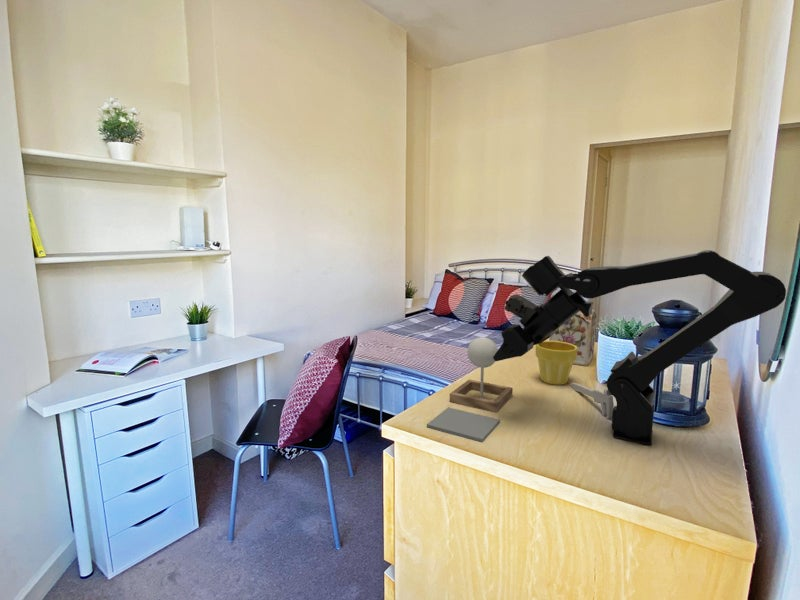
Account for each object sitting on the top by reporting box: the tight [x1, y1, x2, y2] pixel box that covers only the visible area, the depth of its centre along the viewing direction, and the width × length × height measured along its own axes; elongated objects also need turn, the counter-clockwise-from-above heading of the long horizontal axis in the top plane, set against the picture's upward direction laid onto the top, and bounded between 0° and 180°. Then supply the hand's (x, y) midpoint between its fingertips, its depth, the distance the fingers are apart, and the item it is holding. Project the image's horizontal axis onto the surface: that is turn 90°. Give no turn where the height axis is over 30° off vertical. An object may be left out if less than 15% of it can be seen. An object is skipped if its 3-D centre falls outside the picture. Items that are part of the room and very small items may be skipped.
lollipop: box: [466, 336, 499, 399], centre depth 100 cm, size 7×7×15 cm
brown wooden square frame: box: [449, 379, 514, 413], centre depth 101 cm, size 11×11×2 cm
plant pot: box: [535, 340, 577, 386], centre depth 112 cm, size 10×10×10 cm
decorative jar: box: [548, 309, 597, 367], centre depth 131 cm, size 12×12×18 cm
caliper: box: [569, 382, 615, 420], centre depth 99 cm, size 20×1×6 cm, turn 1°
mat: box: [426, 407, 501, 443], centre depth 87 cm, size 12×10×1 cm
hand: (502, 354), depth 96 cm, fingers open, 9 cm apart
